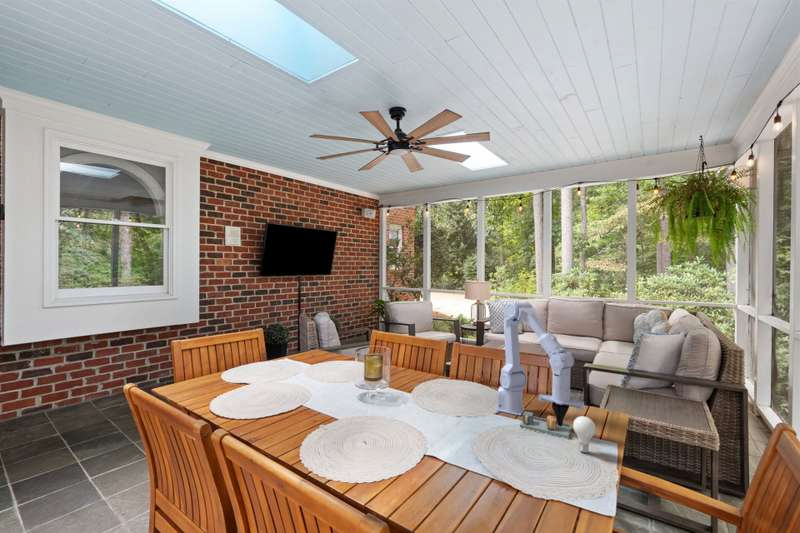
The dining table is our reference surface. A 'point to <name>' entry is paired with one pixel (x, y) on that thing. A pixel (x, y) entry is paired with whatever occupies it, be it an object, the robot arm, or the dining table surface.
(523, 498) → the dining table surface
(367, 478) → the dining table surface
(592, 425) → the lightbulb
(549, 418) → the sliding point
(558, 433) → the gauge board
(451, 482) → the dining table surface
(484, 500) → the dining table surface
